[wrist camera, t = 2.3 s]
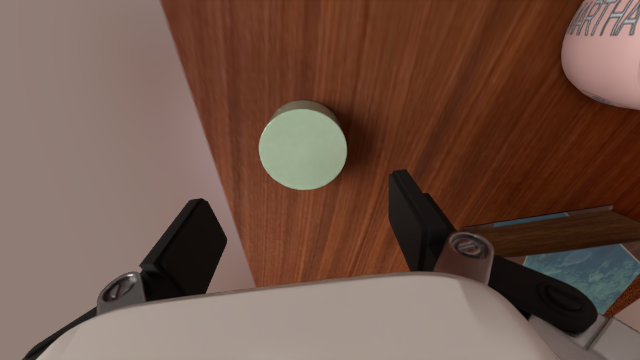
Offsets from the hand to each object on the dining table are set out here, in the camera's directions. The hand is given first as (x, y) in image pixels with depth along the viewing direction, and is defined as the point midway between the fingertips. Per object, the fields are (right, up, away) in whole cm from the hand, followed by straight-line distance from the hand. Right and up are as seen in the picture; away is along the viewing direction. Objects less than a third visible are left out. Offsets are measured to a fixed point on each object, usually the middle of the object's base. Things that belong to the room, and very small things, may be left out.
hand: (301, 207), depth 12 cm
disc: (0, +5, +9) cm, 10 cm away
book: (+28, -12, +21) cm, 37 cm away
